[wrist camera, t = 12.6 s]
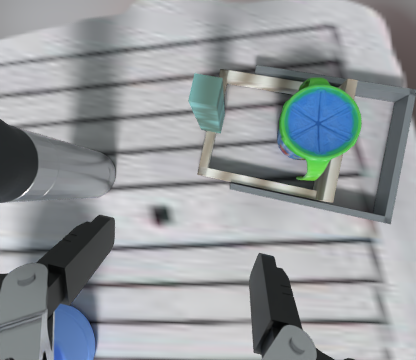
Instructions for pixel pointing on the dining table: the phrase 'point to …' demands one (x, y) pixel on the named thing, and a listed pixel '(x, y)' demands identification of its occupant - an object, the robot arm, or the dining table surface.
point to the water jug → (72, 335)
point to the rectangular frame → (392, 153)
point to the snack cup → (318, 125)
